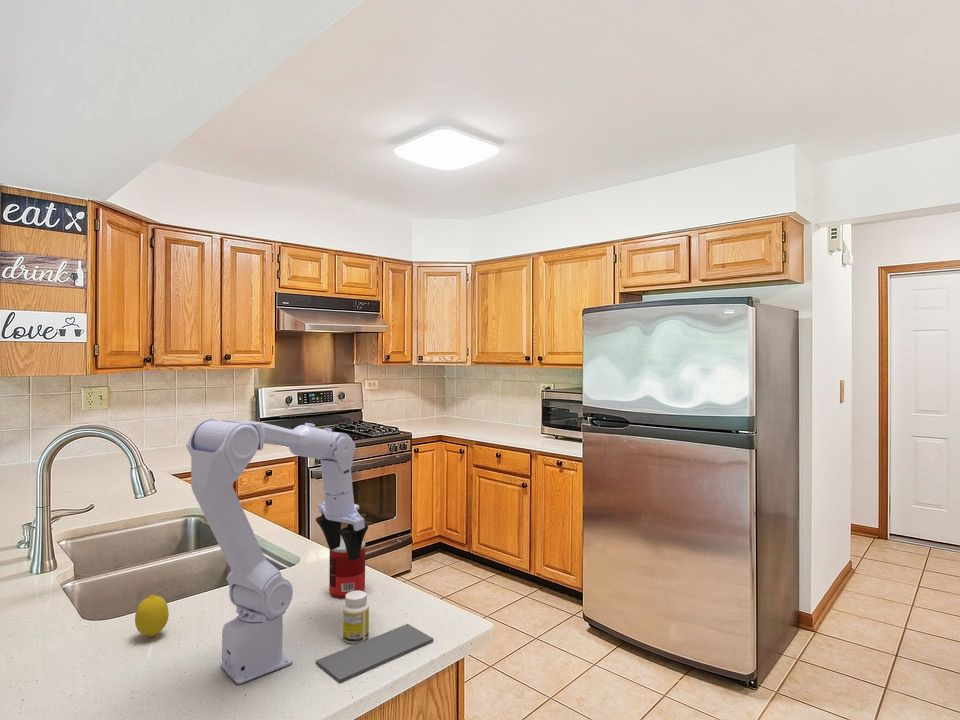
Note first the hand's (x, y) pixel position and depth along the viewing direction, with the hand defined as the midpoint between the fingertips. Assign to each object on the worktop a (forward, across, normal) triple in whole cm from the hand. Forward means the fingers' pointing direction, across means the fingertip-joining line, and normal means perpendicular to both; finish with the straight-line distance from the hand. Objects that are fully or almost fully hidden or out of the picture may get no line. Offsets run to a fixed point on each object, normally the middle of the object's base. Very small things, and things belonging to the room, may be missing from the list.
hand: (344, 553), depth 119 cm
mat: (+12, -17, +5) cm, 21 cm away
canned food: (+15, +10, -5) cm, 18 cm away
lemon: (+10, +17, +33) cm, 38 cm away
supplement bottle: (+12, -10, +5) cm, 16 cm away
